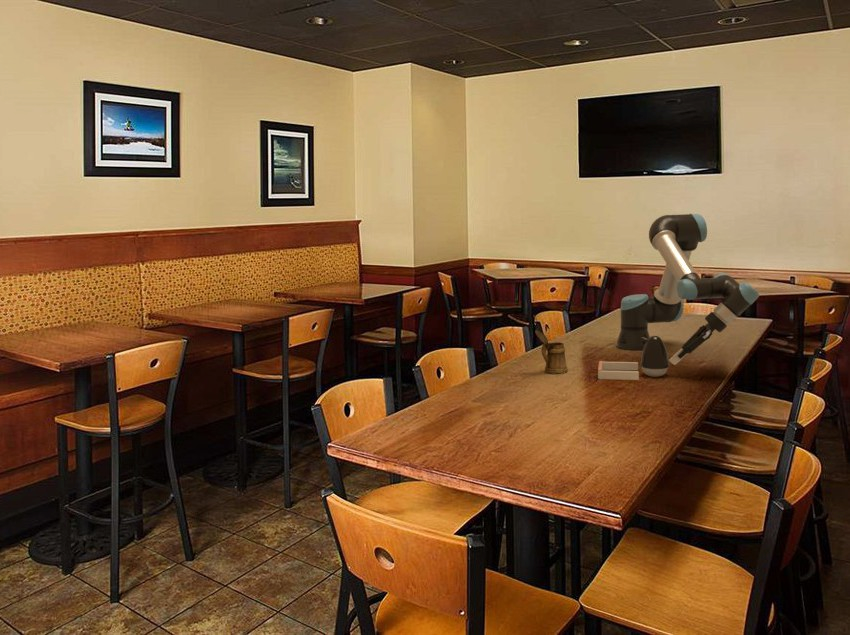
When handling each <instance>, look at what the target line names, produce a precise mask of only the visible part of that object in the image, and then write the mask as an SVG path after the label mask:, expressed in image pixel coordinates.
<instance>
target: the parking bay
mask: <svg viewBox="0 0 850 635" xmlns="http://www.w3.org/2000/svg"><path fill="white" fill-rule="evenodd" d="M598 361H599V362H598V368H597V379H598V380H621V381H622V380H623V381H624V380H625V381H626V380H627V381H639V380H640V378H639V377H640V372H639V362H638V361H636V362H635V361H633V362H631V361H603V360H598Z"/></svg>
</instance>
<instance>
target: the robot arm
mask: <svg viewBox="0 0 850 635" xmlns="http://www.w3.org/2000/svg"><path fill="white" fill-rule="evenodd" d="M707 237H708V226H707V222H706V219H705V218H704V216H702V215H701V214H698V213H689V214H688V213H687V214H684V213H683V214H664V215H661V216H659V217H658V218H656V219H655V220H654V221H653V222H652V224H651V225H650V226H649V230H648V240H649V242H650V244H651V246H652V247H653V249H654V250H657V251H658V253H659V254H660V255H661V257H662V259H663V260H664V262H665V266H664V270H663V274H662V277H661V281H660V284H659V287H658V288H657V289H656V290H654V293H653V295H652V296H651V297H650V296H648V294H646V293H641V294H638V293H637V294H630V295H627V296H625V297H623V298H622V299H621V301H620V332H619V334H618V338H617V340H616V348H618V349H622V350H629V351H641V350H642V351H643V349H644V346H645V344H646V342H645V341H643V340H642V339H641V337H644V338H647V339H649V338H650V337H651V336H650V333H649V329H648V328H649V327H648V325H649V324H655V323H656V324H657V323H658V324H660V323H673V322H677V321H679V320H680V319H681V317H682V316H683V313H684V305H685V304H684V301H683V300H690V301H693V300H704V299H719V298H720V299H724V300H722V301H721V302H720V303H719V304H718V305H717V306H715V308H714V309H713V310H712V311H710V312H709V314H707V315H706V316H705V318H704V320H705V321H706V322H707V323H706V324H705V325H702V326H699V328H698V329H697V330H696V332H694V333H693V334H692V336H690V338H689V339H688V340H687V341H686V342H684V343H683V345H682V346H680V347H681V348H680V349H679V350H678V351H677V352H676V353H675V354H674V355H672V356H671V358H668V360H669V363H671V364H672V365H674V366H676V365H677V364H678V363H679V362H681V361H682V360H683V359H684V358H685V357H686V356H687V355H689V354H691V353H693V352H694V351H695V350H696V349H698V347H699V346H701V345H702V344H703V343H705V341H707V340H709V339H710V338H711V336H712V335H713V332H714V331H715V330H716V331H717V332H718V333H722V332H723V331H724V330H725V329H726V328H727V325H730V324H731V323H732V322H736V320H737V318H738V317H739V316H740V315H741V314H743V313H744V312H745V311H746V310H747V309H748V308H749V307H750V306H751V305H753V303H755V301H757V300H758V298H759V297H760V293H759V292H758V291H757V290H756V288H754V287H753V286H752V285H751V284H749V283H748V282H746V281H743V282H742V283H741V284H740V283H739V282H738V281H737V280H736V279H735V278H734V277H732V276H731V275H729V274H727V273H726V272H720V273H718V274H716V275H714V276H713V277H709V278H708V277H707V278H705V277H703V278H701V276H699V274H698V272H697V271H696V270H695V268H694V267H693V264H692V263H691V262H690V259H691V258H690V257H691V255H692V252H693V251H695V250H696V249H697V248H698V245H699V243H703V242H705V241H706V239H707Z"/></svg>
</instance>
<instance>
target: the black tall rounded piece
mask: <svg viewBox="0 0 850 635" xmlns="http://www.w3.org/2000/svg"><path fill="white" fill-rule="evenodd" d="M641 339H642V340H643V341H645V342H646V344H645V346H644V349H643V350H642V352H641V353H642V354H641V359H640V367H641V370H642V372H643V373H644V374H645V375H646V376H648V377H653V378H656V377H657V378H658V377H662V376H664V375H665V374H666V373H667V371H668V369H669V366H670V361H669V354H668V350H667V348H666V345H665V343H664V340H663V339H662V338H661V336H659V335H652V336H650V338H649V339H647V338H644V337H641Z"/></svg>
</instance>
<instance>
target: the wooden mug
mask: <svg viewBox="0 0 850 635" xmlns="http://www.w3.org/2000/svg"><path fill="white" fill-rule="evenodd" d="M534 332H535V335H536V337H537V338H538V339H539V340H540V341H541V342H542V343H543V344H542V345H541V355H542V358H543V360H544V361H545V366H544V372H545V371H546V372H549V373H548V374H550V373H563V374H565V373H564V372H566V373H568V372H569V371H568V369H569V368H568V366H567V360H566V353H565V352H566V348H565V346H564V343H563V342H560V341H559V342H557V341H555V342H549V340H548V338H547V336H546V335H545V334H544V333H543V332H542V331H541V330H539V329H537V328H536V329H535V331H534ZM567 371H568V372H567ZM546 372H545V373H546Z"/></svg>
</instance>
